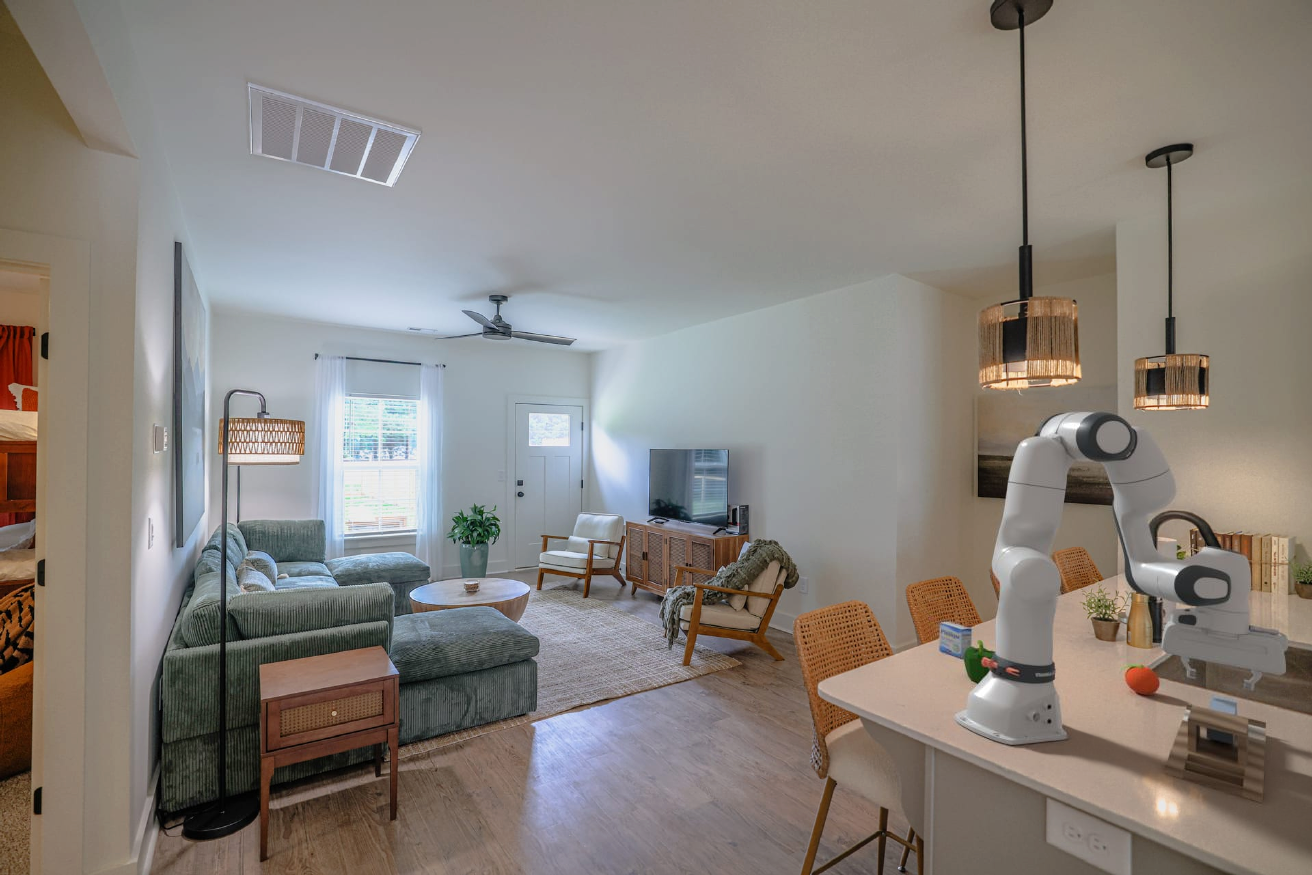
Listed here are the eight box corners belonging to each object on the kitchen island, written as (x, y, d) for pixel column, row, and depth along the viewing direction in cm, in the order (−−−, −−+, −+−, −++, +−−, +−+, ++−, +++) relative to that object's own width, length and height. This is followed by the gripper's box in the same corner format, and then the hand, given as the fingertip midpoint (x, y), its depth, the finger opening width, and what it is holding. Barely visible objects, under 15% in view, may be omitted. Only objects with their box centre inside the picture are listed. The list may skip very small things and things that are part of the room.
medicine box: (938, 650, 185) (938, 622, 186) (949, 649, 187) (949, 620, 187) (961, 659, 178) (961, 629, 178) (971, 657, 180) (972, 627, 180)
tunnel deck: (1262, 802, 106) (1262, 757, 106) (1165, 773, 115) (1165, 731, 115) (1265, 735, 132) (1265, 698, 132) (1186, 715, 141) (1186, 681, 142)
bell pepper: (996, 689, 155) (996, 649, 156) (961, 681, 160) (961, 642, 161) (1001, 679, 162) (1001, 641, 162) (967, 672, 167) (967, 635, 167)
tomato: (1122, 694, 154) (1122, 666, 154) (1117, 685, 160) (1117, 658, 160) (1163, 701, 150) (1163, 671, 150) (1155, 691, 156) (1155, 663, 156)
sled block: (1233, 744, 123) (1233, 721, 123) (1206, 737, 126) (1206, 715, 126) (1236, 721, 134) (1236, 700, 135) (1212, 715, 137) (1212, 695, 137)
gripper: (1286, 628, 131) (1283, 693, 131) (1162, 608, 144) (1160, 667, 144) (1291, 634, 127) (1288, 701, 126) (1163, 613, 139) (1160, 674, 139)
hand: (1219, 683), depth 135 cm, fingers open, 8 cm apart
